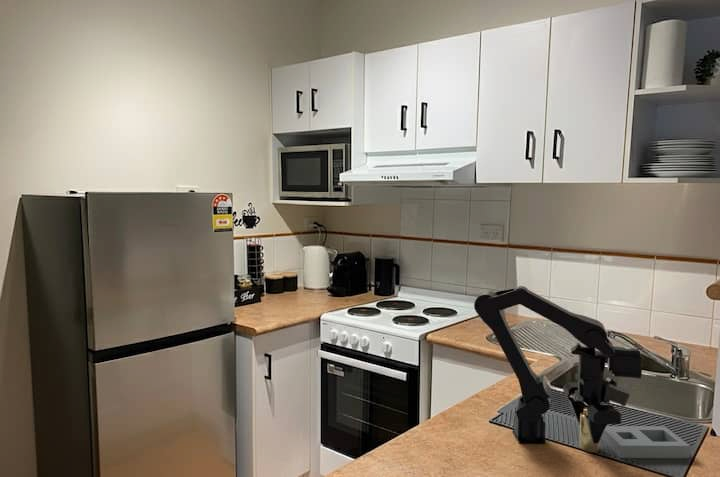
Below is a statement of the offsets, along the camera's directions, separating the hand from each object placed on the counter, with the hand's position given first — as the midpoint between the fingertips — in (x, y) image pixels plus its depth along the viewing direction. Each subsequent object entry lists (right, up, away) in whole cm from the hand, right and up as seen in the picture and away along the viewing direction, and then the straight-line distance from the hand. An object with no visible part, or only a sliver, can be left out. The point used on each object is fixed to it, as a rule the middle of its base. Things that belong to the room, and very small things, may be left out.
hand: (589, 436), depth 123 cm
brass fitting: (0, -3, 0) cm, 3 cm away
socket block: (+13, -3, 0) cm, 13 cm away
